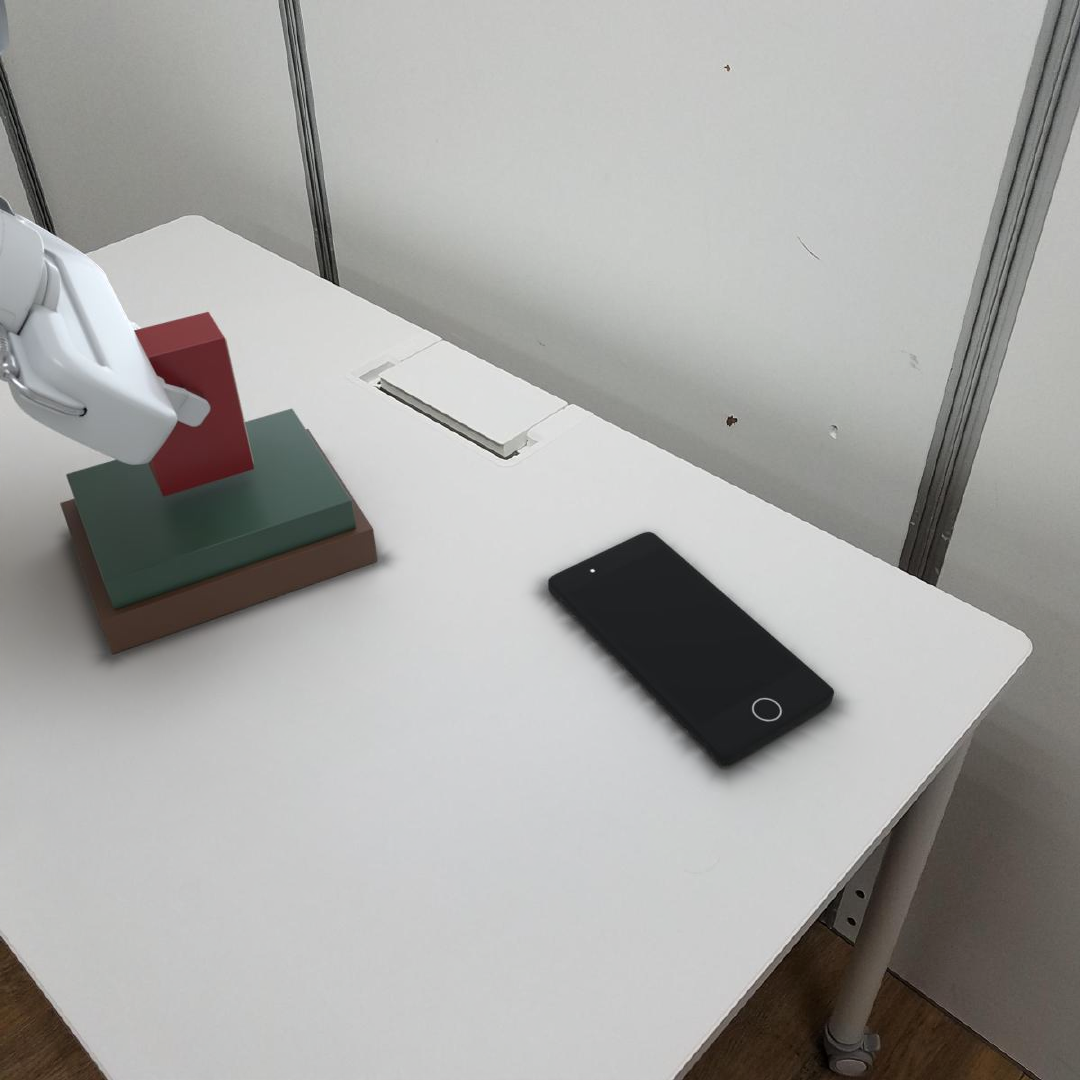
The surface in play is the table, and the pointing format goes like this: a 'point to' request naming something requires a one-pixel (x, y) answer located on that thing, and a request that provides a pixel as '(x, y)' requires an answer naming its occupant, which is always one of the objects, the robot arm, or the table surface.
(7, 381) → the robot arm
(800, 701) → the cell phone
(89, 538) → the book pile
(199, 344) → the upright red rectangular block
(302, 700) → the table surface
